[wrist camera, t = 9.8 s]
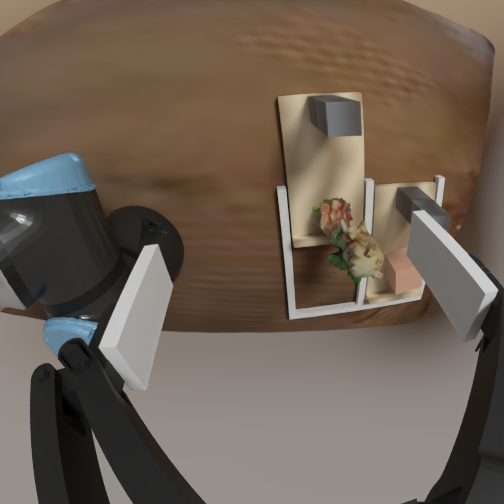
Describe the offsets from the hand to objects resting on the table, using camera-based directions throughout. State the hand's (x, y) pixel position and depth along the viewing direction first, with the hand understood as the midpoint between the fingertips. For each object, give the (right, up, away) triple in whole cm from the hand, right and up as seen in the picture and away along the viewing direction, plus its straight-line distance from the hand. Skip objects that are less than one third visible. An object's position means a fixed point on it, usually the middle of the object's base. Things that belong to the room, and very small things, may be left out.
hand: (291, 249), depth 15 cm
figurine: (+10, +5, +29) cm, 31 cm away
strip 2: (+23, +1, +32) cm, 39 cm away
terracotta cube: (+23, -2, +32) cm, 40 cm away
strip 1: (+8, +11, +25) cm, 29 cm away
